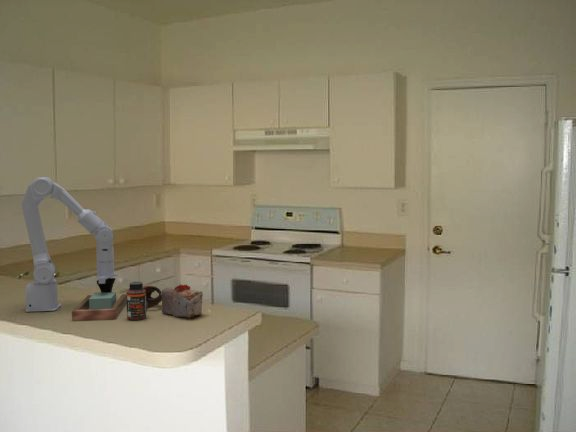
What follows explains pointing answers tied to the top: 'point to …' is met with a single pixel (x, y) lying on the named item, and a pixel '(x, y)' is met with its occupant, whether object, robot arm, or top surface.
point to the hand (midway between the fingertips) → (106, 300)
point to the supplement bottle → (136, 301)
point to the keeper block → (102, 300)
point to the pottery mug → (150, 300)
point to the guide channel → (98, 310)
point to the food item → (181, 301)
